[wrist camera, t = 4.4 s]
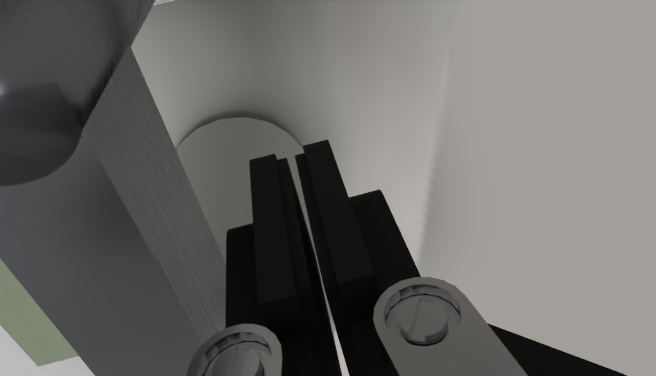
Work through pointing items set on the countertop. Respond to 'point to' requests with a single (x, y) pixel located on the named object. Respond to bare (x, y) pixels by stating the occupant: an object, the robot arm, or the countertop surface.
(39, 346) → the mat
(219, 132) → the can
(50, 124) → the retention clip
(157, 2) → the clip base
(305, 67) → the countertop surface
